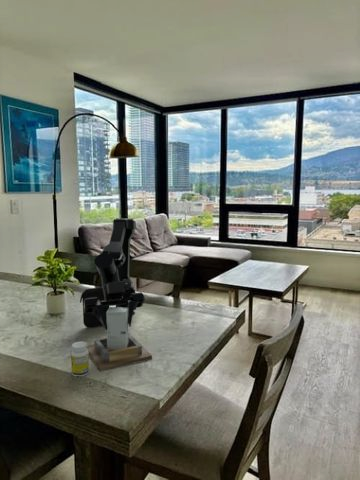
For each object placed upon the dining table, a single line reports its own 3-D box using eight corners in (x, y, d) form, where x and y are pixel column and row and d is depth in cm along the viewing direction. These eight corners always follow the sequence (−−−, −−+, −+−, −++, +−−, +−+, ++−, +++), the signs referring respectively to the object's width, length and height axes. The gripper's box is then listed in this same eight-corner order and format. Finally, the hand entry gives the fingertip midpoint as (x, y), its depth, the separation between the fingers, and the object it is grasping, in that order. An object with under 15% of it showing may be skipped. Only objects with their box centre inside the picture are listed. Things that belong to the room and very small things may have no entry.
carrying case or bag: (81, 330, 129) (80, 291, 127) (80, 327, 132) (78, 288, 130) (110, 325, 134) (109, 287, 131) (108, 322, 136) (107, 285, 134)
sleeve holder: (85, 349, 114) (85, 338, 114) (132, 339, 122) (132, 329, 121) (100, 371, 100) (99, 359, 100) (152, 358, 108) (151, 347, 107)
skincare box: (106, 349, 109) (105, 311, 107) (110, 343, 113) (108, 306, 111) (126, 350, 109) (125, 312, 107) (129, 343, 113) (128, 306, 111)
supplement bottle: (73, 368, 102) (72, 340, 101) (90, 368, 102) (89, 340, 101) (70, 377, 97) (68, 348, 96) (87, 376, 98) (86, 347, 96)
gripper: (83, 272, 108) (88, 320, 99) (142, 268, 114) (153, 312, 106) (81, 290, 116) (86, 336, 108) (137, 285, 123) (146, 327, 114)
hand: (118, 327), depth 109 cm, fingers closed on skincare box, 7 cm apart
